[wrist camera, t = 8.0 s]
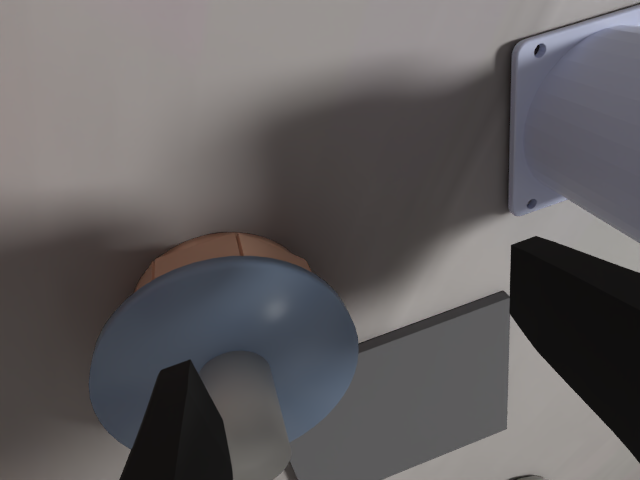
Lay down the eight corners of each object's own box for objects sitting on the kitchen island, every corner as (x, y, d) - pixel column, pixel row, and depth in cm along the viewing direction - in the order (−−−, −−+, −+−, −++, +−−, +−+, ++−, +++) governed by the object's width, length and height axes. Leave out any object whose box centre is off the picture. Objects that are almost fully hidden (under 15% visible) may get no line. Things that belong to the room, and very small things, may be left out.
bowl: (288, 204, 20) (309, 246, 17) (327, 339, 24) (348, 389, 21) (94, 267, 19) (82, 323, 16) (172, 395, 23) (172, 456, 20)
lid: (368, 247, 18) (421, 323, 14) (337, 427, 22) (371, 518, 19) (70, 266, 15) (39, 368, 11) (110, 467, 20) (97, 584, 16)
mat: (503, 290, 26) (510, 297, 25) (501, 421, 32) (506, 428, 32) (256, 381, 24) (258, 390, 24) (308, 499, 31) (310, 508, 30)
